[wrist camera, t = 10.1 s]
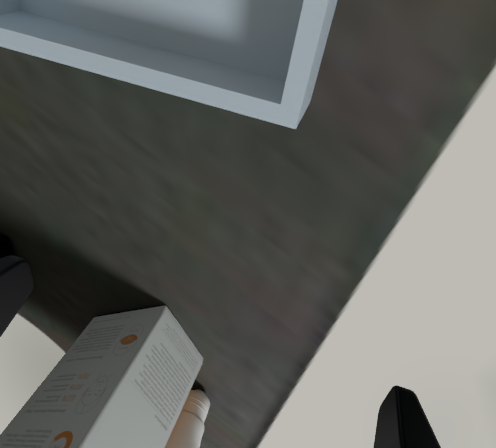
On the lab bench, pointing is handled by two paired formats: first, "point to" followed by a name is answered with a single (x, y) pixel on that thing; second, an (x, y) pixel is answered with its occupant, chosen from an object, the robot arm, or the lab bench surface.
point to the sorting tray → (185, 47)
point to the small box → (112, 386)
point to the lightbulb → (190, 422)
